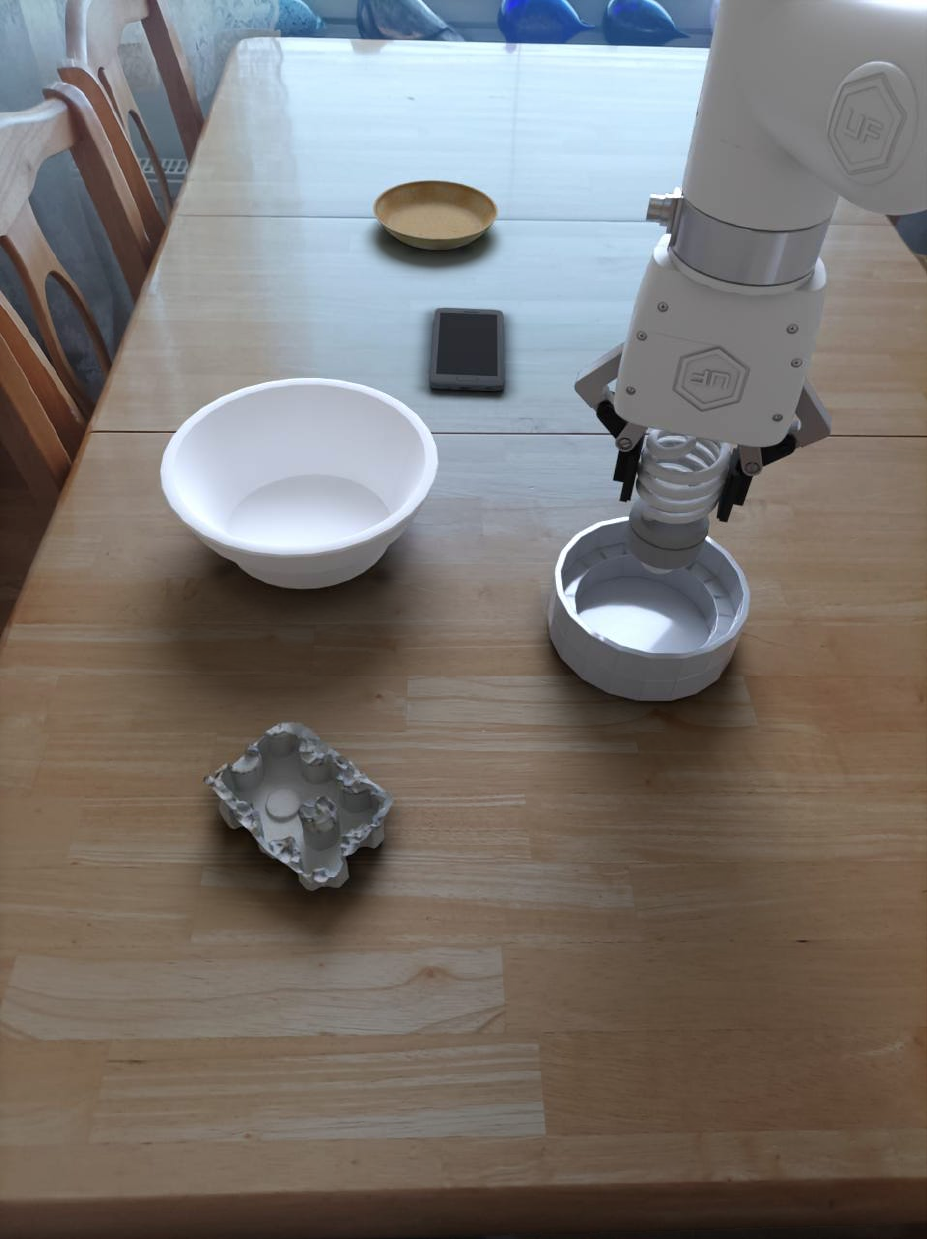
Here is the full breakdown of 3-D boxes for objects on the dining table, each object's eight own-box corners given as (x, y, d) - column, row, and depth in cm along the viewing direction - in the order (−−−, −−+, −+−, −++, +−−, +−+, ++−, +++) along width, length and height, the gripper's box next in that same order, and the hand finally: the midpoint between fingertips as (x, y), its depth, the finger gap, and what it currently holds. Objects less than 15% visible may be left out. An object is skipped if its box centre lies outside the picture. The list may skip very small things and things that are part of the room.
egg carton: (204, 809, 61) (192, 775, 58) (291, 736, 64) (284, 701, 61) (318, 913, 56) (312, 882, 53) (404, 828, 60) (403, 796, 57)
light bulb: (642, 608, 64) (678, 472, 55) (601, 554, 67) (629, 417, 58) (711, 585, 66) (757, 449, 57) (668, 533, 69) (705, 397, 60)
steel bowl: (759, 617, 73) (780, 568, 69) (680, 738, 65) (697, 691, 61) (603, 542, 78) (614, 492, 74) (512, 646, 70) (518, 597, 66)
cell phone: (429, 389, 91) (429, 382, 91) (434, 312, 100) (434, 306, 100) (504, 392, 91) (504, 385, 91) (503, 315, 100) (503, 308, 100)
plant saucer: (504, 208, 117) (506, 187, 115) (486, 266, 107) (487, 244, 105) (389, 194, 118) (389, 174, 116) (360, 251, 109) (359, 229, 107)
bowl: (159, 484, 81) (137, 405, 75) (389, 433, 87) (387, 357, 80) (210, 663, 68) (189, 586, 62) (476, 590, 74) (481, 513, 68)
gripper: (568, 239, 47) (535, 509, 60) (925, 297, 44) (806, 564, 58) (593, 176, 51) (557, 439, 65) (917, 225, 49) (809, 488, 63)
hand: (675, 496), depth 61 cm, fingers closed on light bulb, 5 cm apart
